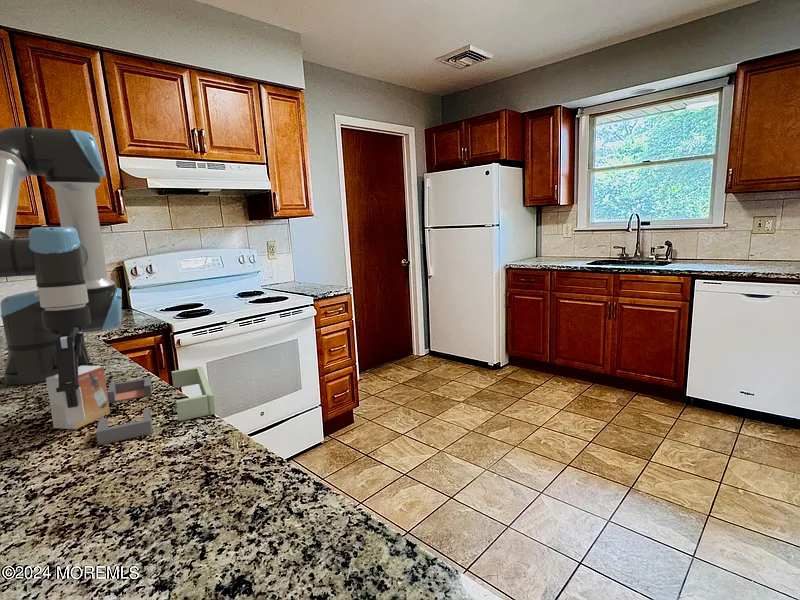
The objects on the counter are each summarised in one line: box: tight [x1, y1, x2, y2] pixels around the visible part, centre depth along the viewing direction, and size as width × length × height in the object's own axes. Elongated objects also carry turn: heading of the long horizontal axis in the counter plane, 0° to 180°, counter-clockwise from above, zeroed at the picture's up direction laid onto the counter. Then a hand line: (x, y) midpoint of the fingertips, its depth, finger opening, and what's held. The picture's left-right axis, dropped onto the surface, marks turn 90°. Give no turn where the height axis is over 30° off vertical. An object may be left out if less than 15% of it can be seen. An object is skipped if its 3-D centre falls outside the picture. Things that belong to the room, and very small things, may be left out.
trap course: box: [95, 366, 216, 446], centre depth 95 cm, size 30×20×4 cm
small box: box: [45, 365, 111, 430], centre depth 88 cm, size 8×6×10 cm
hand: (81, 409), depth 88 cm, fingers open, 13 cm apart
